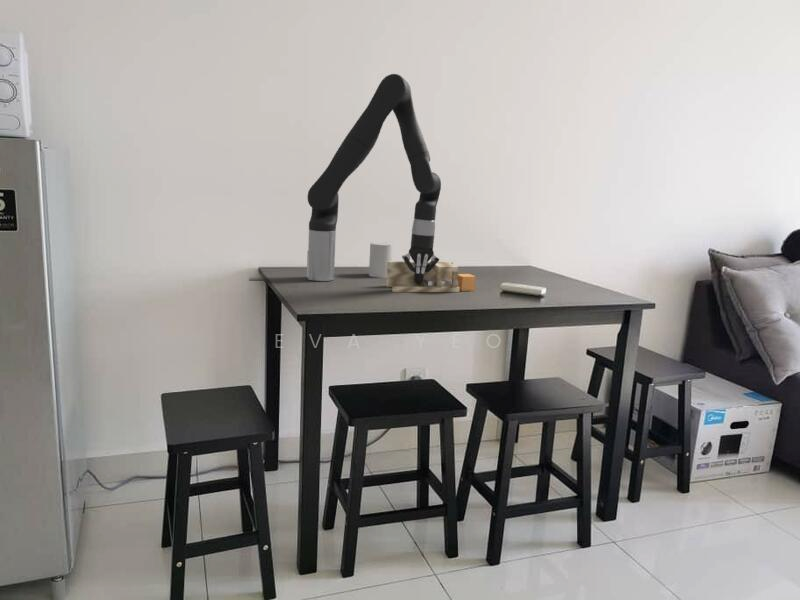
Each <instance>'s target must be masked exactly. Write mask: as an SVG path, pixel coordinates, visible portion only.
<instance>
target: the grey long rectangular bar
mask: <svg viewBox="0 0 800 600" xmlns="http://www.w3.org/2000/svg"><path fill="white" fill-rule="evenodd" d="M451 284H452V279H442V287H451ZM424 287H436V280H424ZM457 287H460V280H458V281H457Z"/></svg>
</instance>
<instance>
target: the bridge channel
mask: <svg viewBox="0 0 800 600" xmlns="http://www.w3.org/2000/svg"><path fill="white" fill-rule="evenodd" d="M410 262H411V264H412V265H413V267H414V268H415V266H414V261H410ZM430 262H431V261H428V262H427V264H426V266H427V265H428V264H429V263H430ZM458 274H459V266H457V265H455V264H454V263H453V262H452V261H438V262H437V264H436V265H435V266H434V267H433V268H432V269H431V270H430V271H429V272H426V273H424V277H423V283H421V284H416V283H415V282H414V275H415V273H414V272H413V271H411V270H410V269H409V267H408V266H407V264H406V263H405V261H404V260H403V261H399V260H396V261H394V260H392V261H388V263H387V278H386V284H385V285H386V287H387V288H388V287H391V289H392V292H393V293H397V292H398V293H402V292H403V293H405V292H406V293H420V292H421V293H460V291H461V290H460V287H457V281H458ZM442 279H452V284H451V287H442ZM424 280H436V287H424Z"/></svg>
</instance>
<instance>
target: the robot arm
mask: <svg viewBox="0 0 800 600" xmlns="http://www.w3.org/2000/svg"><path fill="white" fill-rule="evenodd" d="M392 111H393V113H394V115H395V118H396V120H397V123H398V125H399V126H398V127H399V129H400V135H401V141H402V144H403V148H404V151H405V154H406V157H407V160H408V162H409V165H410V172H411V177H412V181H413V185H414V187H415V189H416V191H418V192H419V197H418V198H419V199H418V201H416V203H415V207H414V217H413V222H412V228H411V239H410V248H409V250H408V253H406V254H405V255H404V254H403V255H402V260H403V261H405V263H406V264H407V266H408V267H409V269H410V270H411V271H413V272H414V273H415V275H414V282H415V283H416V284H421V283H423V277H424V273H426V272H429V271H430V270H431V269H432V268H433V267H434V266H435V265H436V264H437V262H440V258H438V257H437V256H436V255H435V251H434V242H435V241H434V240H435V231H436V215H437V205H438V203H439V202H438V201H439V199H440V198H439V197H440V194H441V190H442V182H441V177H440V176H439V175H438V174H437V173H435V172H434V171H433V172H432V168H431V165H430V162H431V155H430V152H429V150H428V147H427V144H426V142H425V139H424V135H423V132H422V131H421V128H420V125H419V123H418V122H419V121H418V120H417V116H416V112H415V108H414V102H413V96H412V90H411V86H410V84H409V82H408V81H407V80H406V79H405V78H403V76H402V75H400V74H399V73H398V74H397V73H391V74H388V75H386V76H385V77H383V79H381V81H380V83H379V84H378V86H377V88H376V90H375V92H374V93H373V96H372V98H371V100H370V102H369V103H368V105H367V107H366V108H365V110H364V111H363V112H361V113H362V114H361V115H360V116H359V117H358V119H357V121H356V122H355V123H354V125H353V127H352V128H351V129H350V130H349V132H348V133H347V135H346V136H345V137H344V139H343V141H342V142H341V144H340V145H339V146H338V148H337V151H335V154H334V155H333V157H332V158H331V161H330V163H328V166H327V167H326V168H325V170H324V171H323V172H322V174H321V175H319V177H318V178H317V180H316V181H315V182H314V183H313V184H312V186H311V187H310V189H308V191H307V202H308V204H309V206H310V207H311V216H310V219H309V222H308V243H307V244H308V245H307V247H308V248H307V249H308V250H307V255H306V256H307V258H306V259H307V260H306V279H308V281H314V282H328V281H329V282H330V281H334V280H335V263H336V262H335V261H336V259H335V258H336V238H337V237H336V236H337V235H336V233H337V231H336V230H337V222H338V218H339V215H338V214H339V190H340V189H341V187H342V186H343V184H345V182H346V180H347V179H348V178H349V177H350V176H351V175H352V174H353V173H354V172H355V171H356V170H357V169H358V168H359V167H360V166H361V164H363V162H364V161H365V160H366V159H367V157H369V154H370V153H371V151H372V149H373V148H374V146H375V145H376V143H377V142H378V138H379V136H380V133H381V130H382V127H383V125H384V123H385V121H386V119H387V117H389V115H390V114H391V112H392ZM411 259H412V260H411ZM410 260H411V261H410ZM411 262H414V266H415V268H414V267H413V265H412V264H411ZM427 262H430V263H429V264H428V265H427V266H426V264H427Z"/></svg>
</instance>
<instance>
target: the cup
mask: <svg viewBox="0 0 800 600" xmlns="http://www.w3.org/2000/svg"><path fill="white" fill-rule="evenodd" d="M392 257H393V243H392V242H391V243H390V242H387V241H385V242H384V241H372V242H370V246H369V265H368V276H369V277H371V278H380V279H381V278H382V279H383V278H386V279H387V263H388V261H393V260H392Z"/></svg>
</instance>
